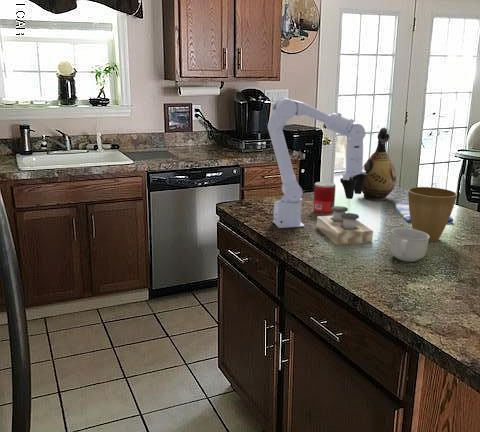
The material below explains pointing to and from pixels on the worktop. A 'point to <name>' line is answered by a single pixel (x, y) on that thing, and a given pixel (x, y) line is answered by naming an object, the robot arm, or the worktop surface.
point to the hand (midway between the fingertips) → (353, 196)
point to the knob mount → (344, 231)
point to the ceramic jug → (379, 172)
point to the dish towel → (404, 211)
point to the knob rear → (338, 213)
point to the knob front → (349, 221)
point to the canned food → (324, 197)
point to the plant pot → (430, 209)
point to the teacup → (408, 244)
